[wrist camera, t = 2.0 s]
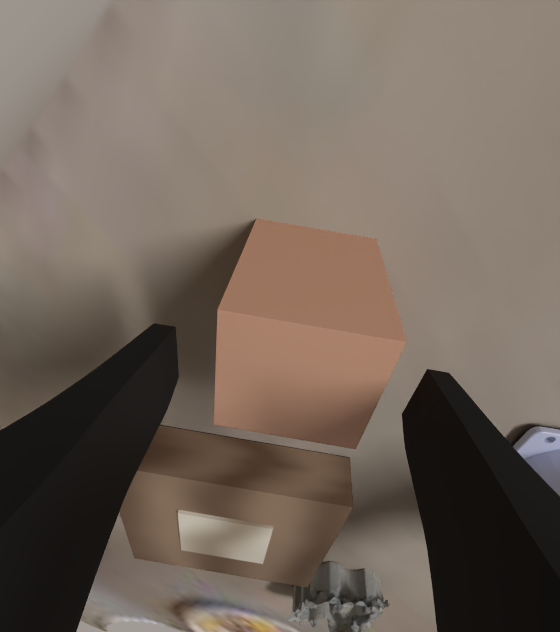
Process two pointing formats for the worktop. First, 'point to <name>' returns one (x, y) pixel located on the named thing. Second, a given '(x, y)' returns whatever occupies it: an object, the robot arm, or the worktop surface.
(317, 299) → the terracotta block
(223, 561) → the walnut base
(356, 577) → the egg carton
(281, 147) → the worktop surface
